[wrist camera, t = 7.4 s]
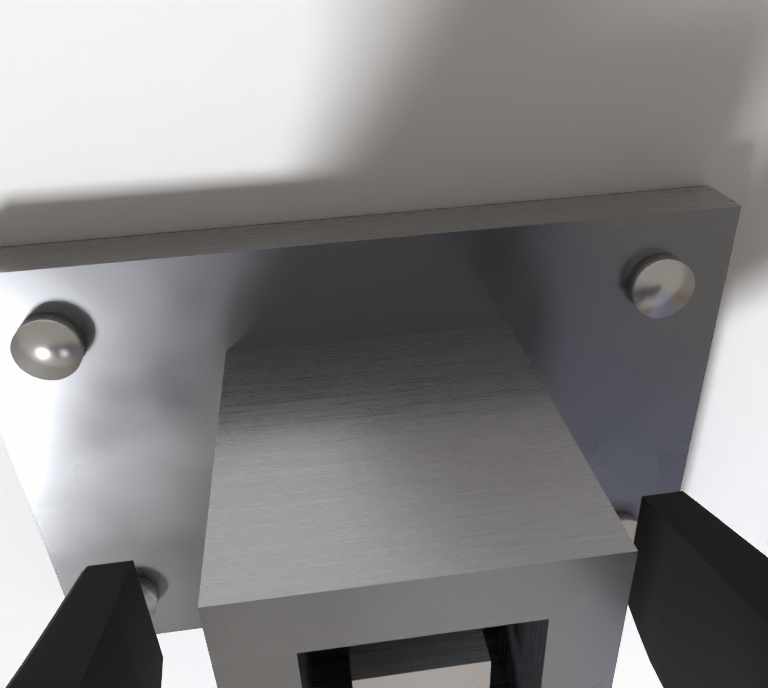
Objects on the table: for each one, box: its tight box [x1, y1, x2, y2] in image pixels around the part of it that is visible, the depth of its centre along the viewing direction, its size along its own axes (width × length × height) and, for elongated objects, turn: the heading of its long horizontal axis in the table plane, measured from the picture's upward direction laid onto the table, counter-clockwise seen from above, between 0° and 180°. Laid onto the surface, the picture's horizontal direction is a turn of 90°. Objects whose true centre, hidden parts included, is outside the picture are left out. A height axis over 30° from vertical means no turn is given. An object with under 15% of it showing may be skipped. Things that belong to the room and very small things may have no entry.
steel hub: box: [198, 325, 638, 688], centre depth 11 cm, size 5×5×5 cm
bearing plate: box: [0, 186, 741, 688], centre depth 11 cm, size 12×8×6 cm, turn 92°
